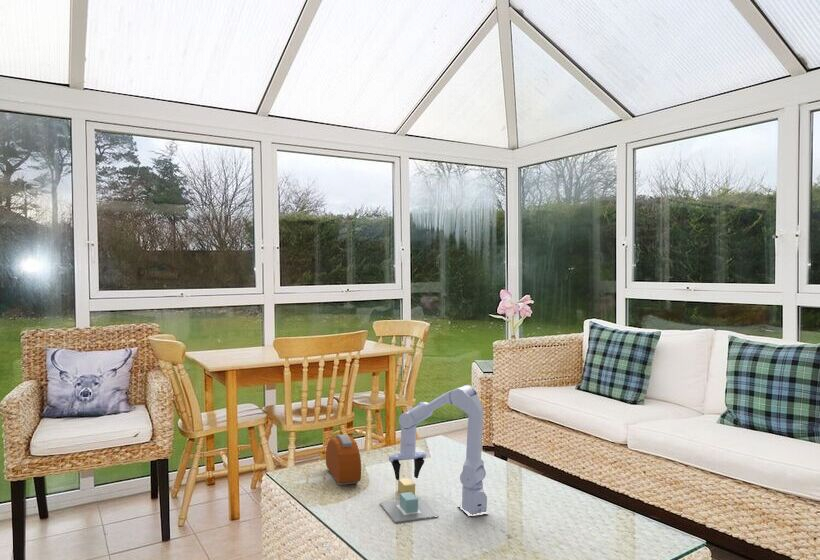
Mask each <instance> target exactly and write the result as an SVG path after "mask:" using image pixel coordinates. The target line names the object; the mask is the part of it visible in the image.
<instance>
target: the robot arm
mask: <svg viewBox="0 0 820 560" xmlns="http://www.w3.org/2000/svg"><path fill="white" fill-rule="evenodd" d="M446 404H449V405H453V406H455V407H457V408H458V409H460V410H462V412H463V411H464V413H465V415H467V433H466V435H467V436H466V457H465V461H464V464H463V465H462V471H461V473H460V475H459V480H460V483H461V485H462V490H461V492H462V494H461V505H462V508H463V509H464V510H466V511H468V512H469V513H470V514H472V515H473V514H477V513H481V512H486V511H487V510H488V508H487V507H488V496H487V494H486V493H485V490H484V482H483V480H484V479H485V478H486V474H487V472H486V469H485V466H484V464H485V461H484V460H483V459H482V445H483V428H484V408H483V406H482V403H481V400H480V399H479V392H478V391H477V390H476V389H475V388H474V387H473V386H472V385H470V384H465V385H462V386H461V387H460V386H459V387H456V388H455V389H452V390H449V391H447V392H444V393H442V394H441V395H440V396H438V397H436V398H435V399H433V400H432V401H431V400H430V402H426V401H420V402H418V403H417V405H415V406H414V407H410V408H408V411H406V412H403V413H401V414H400V416H399V417H398V424H399V425H400V451H399V452H398V453H396V454H395V453H394V454H389V455H388V461H389V462H390V463H391V465H392V468H393V471H394V475H395V480H396V481H398V480H399V479H400V471H401V467H402V464H401V463H400V461H407V460H413V464H414V470H413V476H414V478H415V479H418V478H419V476H420V471H421V469H422V467H423V465H425V459H427V453H426V452H425V451H418V452H417V451H416V443H417V442H416V441H417V426H418V424H419V423H421V422H423V421H424V420H426V419H428V418H430V417H431V416H433V413H434V410H437V409H439V408H441V407H443V406H444V405H446ZM487 512H488V511H487Z"/></svg>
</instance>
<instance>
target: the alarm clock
mask: <svg viewBox="0 0 820 560" xmlns="http://www.w3.org/2000/svg"><path fill="white" fill-rule="evenodd" d="M325 466H326V467H327V469H328V470H329V471H328V472H330V474H331V475H332V476H333V478H334V479H335V481H336V482H337V485H338V486H342V484H343V485H352V484H358V482H360V481H361V479H362V459H361V454H360V450H359V446H358V443H357V442H356V440H355V438H353V437H352V436H348V434H336V435H335V437H332V438H330V439H329V440H328V442H327V445H326V450H325Z"/></svg>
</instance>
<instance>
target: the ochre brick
mask: <svg viewBox="0 0 820 560" xmlns="http://www.w3.org/2000/svg"><path fill="white" fill-rule="evenodd" d="M397 481H398V482H397V491H398V493H399V494H400V493H407V492H412V493H413V494H414V495H415V496H416V483H415V482H414V481H413V480H411V478H410V477H407V478H399V480H397Z"/></svg>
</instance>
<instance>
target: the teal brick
mask: <svg viewBox="0 0 820 560" xmlns="http://www.w3.org/2000/svg"><path fill="white" fill-rule="evenodd" d="M418 498H419V497H418V496H416V494H415V495H414V494H413V493H412V492H407V493H400V492H399V500H400V507H401V508H402V509H403V510H404V511H405V513H412V512H418Z"/></svg>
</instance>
